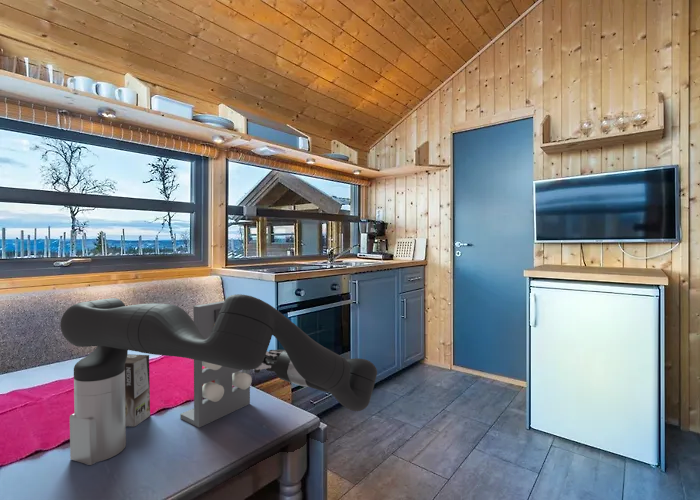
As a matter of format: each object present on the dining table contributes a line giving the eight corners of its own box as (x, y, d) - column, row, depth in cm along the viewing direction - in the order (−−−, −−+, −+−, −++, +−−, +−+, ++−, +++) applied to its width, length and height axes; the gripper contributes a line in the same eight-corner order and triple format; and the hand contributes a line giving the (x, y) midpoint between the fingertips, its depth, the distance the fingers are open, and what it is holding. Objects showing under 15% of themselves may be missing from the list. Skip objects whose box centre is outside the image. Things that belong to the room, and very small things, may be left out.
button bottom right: (251, 386, 102) (251, 372, 102) (240, 391, 99) (239, 376, 98) (242, 383, 104) (242, 369, 104) (230, 388, 101) (230, 373, 101)
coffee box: (151, 415, 98) (150, 354, 97) (134, 427, 91) (134, 362, 91) (119, 413, 99) (118, 353, 98) (100, 425, 92) (99, 361, 92)
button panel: (251, 404, 104) (251, 298, 103) (200, 428, 91) (199, 307, 90) (231, 396, 109) (231, 295, 108) (180, 418, 96) (179, 303, 95)
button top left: (224, 367, 94) (224, 351, 94) (210, 372, 91) (210, 356, 91) (214, 364, 96) (214, 349, 96) (200, 368, 93) (200, 352, 93)
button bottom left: (224, 398, 94) (224, 383, 94) (210, 404, 91) (210, 388, 91) (214, 394, 97) (214, 379, 96) (200, 400, 93) (200, 384, 93)
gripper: (317, 345, 94) (269, 334, 104) (280, 359, 83) (230, 346, 93) (317, 374, 95) (269, 361, 104) (280, 392, 84) (230, 375, 93)
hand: (250, 354), depth 99 cm, fingers closed
